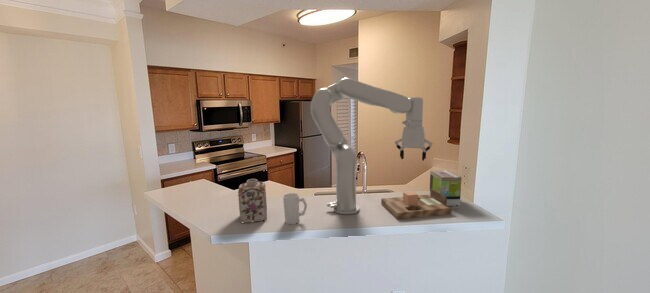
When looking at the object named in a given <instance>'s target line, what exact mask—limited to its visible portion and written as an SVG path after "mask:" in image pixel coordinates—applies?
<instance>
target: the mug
mask: <svg viewBox="0 0 650 293" xmlns="http://www.w3.org/2000/svg"><path fill="white" fill-rule="evenodd" d="M299 195H300V194H298V193H295V192H294V193H293V192H290V193H286V194H283V197H282V198H283V210H284V221H285V222H286V223H287V225H296V223H297V224H298V223H300V216H304V215H305V214H306V211H307V207H308V206H307V205H308V204H307V202H306V200H305V197H301V198H300V197H299ZM300 202H302V204H303V205H304V207H303V211H300ZM285 222H284V223H285ZM286 223H285V224H286Z"/></svg>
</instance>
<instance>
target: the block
mask: <svg viewBox="0 0 650 293" xmlns="http://www.w3.org/2000/svg"><path fill="white" fill-rule="evenodd" d="M418 195H419V194H418V193H416V192H415V191H413V190H412V191H403V192H402V197H403V202H404V203H405V204H406V205H408V206H409V205H418Z"/></svg>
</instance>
